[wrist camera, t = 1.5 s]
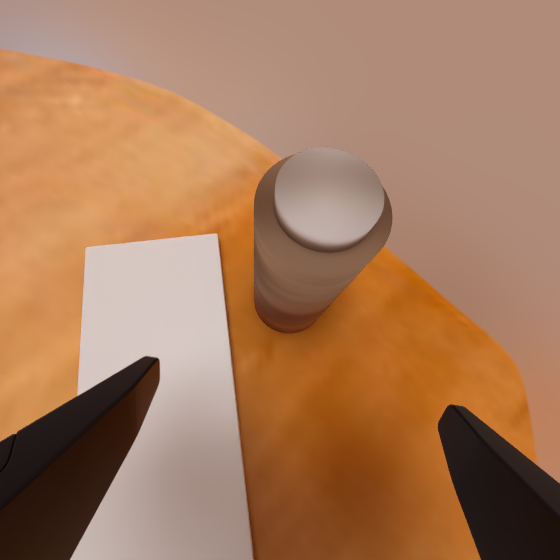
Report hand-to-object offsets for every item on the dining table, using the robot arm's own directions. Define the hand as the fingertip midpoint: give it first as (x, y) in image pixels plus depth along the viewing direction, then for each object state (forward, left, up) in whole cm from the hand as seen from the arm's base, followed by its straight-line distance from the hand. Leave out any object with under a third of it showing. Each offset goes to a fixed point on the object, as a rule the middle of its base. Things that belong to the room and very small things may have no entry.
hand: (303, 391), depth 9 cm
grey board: (+1, +8, -13) cm, 15 cm away
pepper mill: (+7, -2, -13) cm, 15 cm away
